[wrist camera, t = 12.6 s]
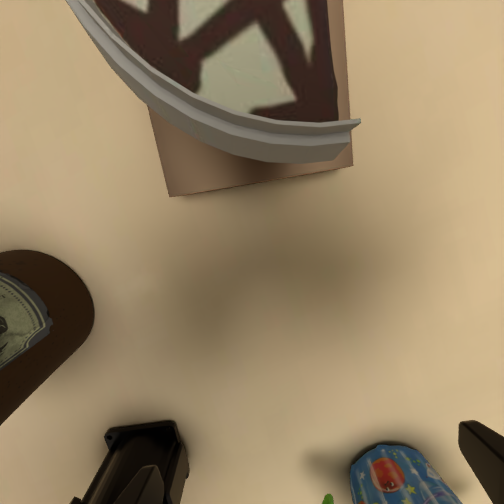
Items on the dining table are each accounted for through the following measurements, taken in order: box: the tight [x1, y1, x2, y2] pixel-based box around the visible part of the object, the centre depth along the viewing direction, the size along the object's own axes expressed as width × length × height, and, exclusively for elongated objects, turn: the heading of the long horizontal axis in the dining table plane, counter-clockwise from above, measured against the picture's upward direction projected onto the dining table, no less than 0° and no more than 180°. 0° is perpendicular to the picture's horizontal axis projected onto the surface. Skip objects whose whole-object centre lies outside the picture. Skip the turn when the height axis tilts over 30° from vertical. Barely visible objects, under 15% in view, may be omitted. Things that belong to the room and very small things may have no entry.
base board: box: [147, 0, 353, 197], centre depth 15 cm, size 11×15×3 cm
